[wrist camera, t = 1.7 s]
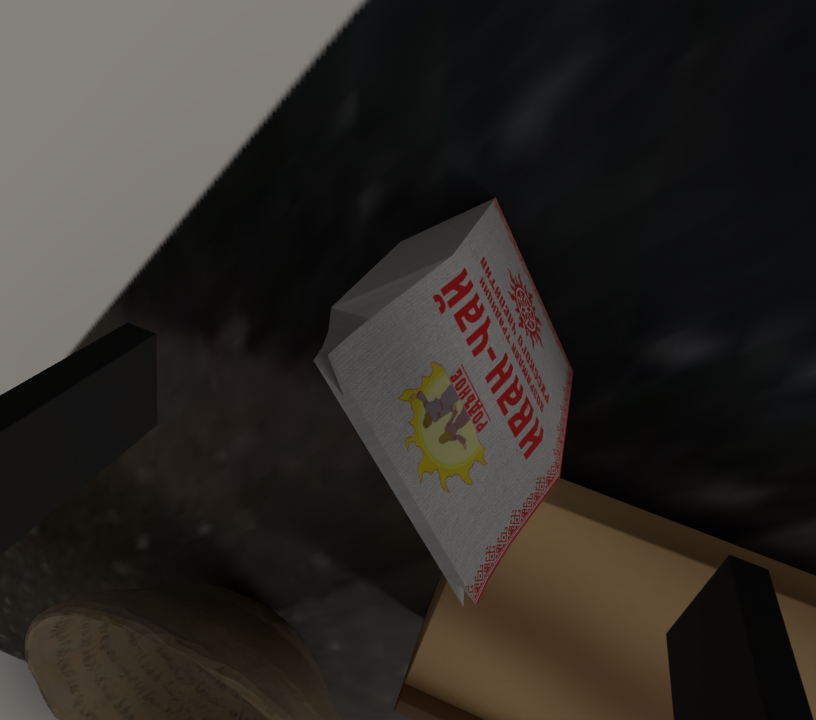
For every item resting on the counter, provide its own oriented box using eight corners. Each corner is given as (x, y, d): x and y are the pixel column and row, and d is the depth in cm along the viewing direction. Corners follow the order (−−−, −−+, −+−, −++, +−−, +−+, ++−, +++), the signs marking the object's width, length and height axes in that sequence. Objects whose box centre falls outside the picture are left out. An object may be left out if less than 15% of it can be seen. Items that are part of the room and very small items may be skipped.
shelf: (506, 413, 22) (482, 495, 18) (1072, 623, 19) (1191, 775, 15) (423, 620, 30) (393, 710, 26) (822, 793, 27) (858, 925, 23)
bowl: (136, 642, 41) (42, 761, 34) (114, 449, 31) (-24, 562, 24) (378, 753, 38) (328, 907, 31) (439, 578, 28) (384, 748, 21)
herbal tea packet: (481, 398, 22) (400, 613, 14) (400, 241, 20) (250, 384, 12) (573, 371, 21) (544, 599, 12) (495, 197, 18) (397, 328, 10)
